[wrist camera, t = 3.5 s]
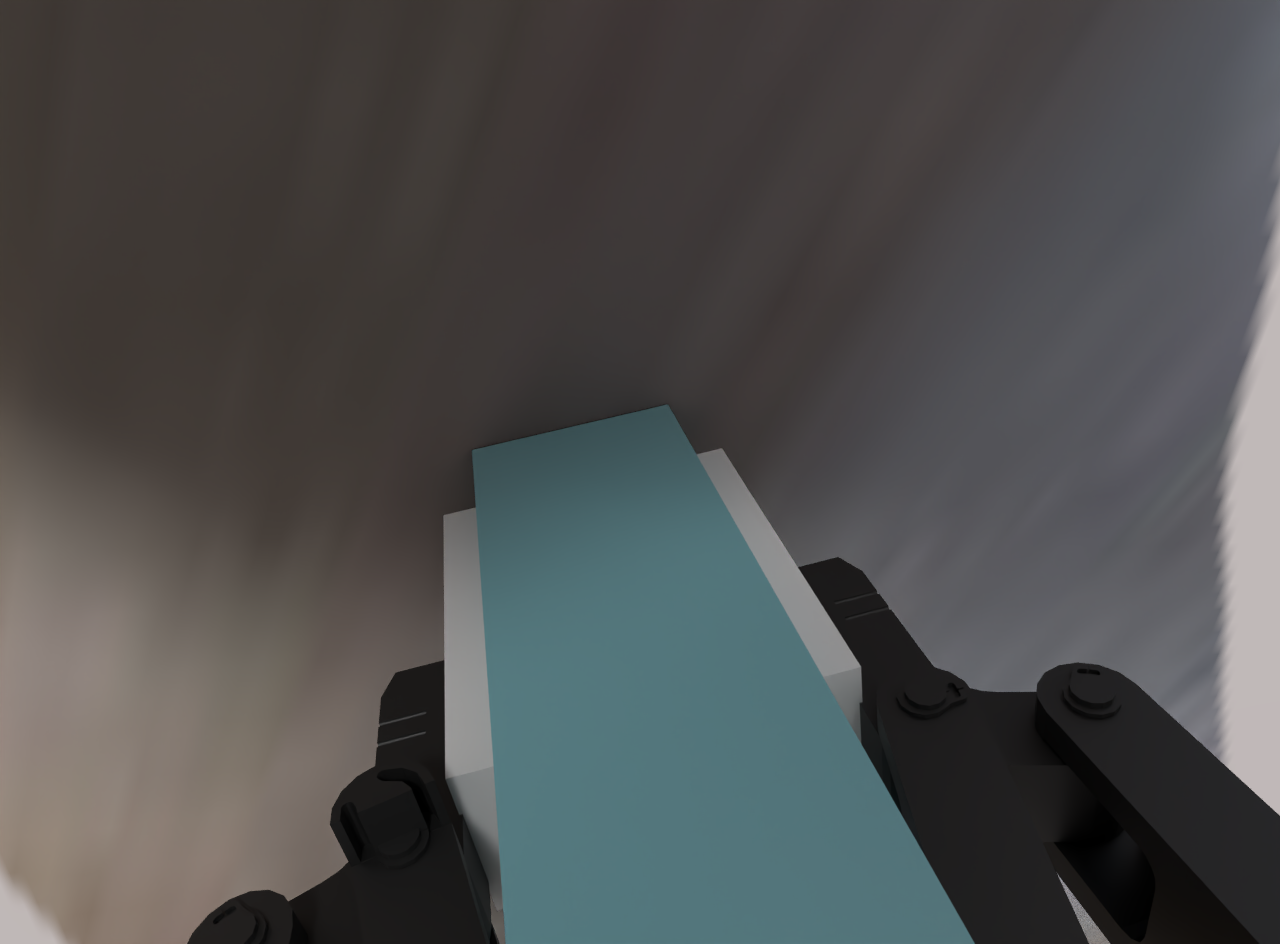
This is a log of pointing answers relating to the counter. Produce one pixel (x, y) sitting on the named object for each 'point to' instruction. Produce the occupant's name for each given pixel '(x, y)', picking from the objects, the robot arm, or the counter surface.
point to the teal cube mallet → (669, 718)
